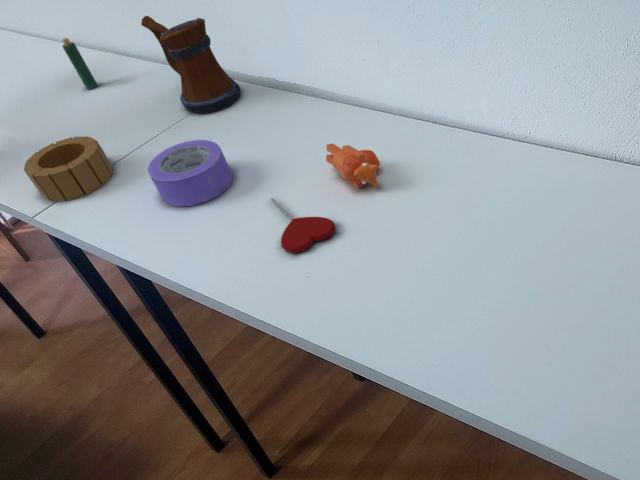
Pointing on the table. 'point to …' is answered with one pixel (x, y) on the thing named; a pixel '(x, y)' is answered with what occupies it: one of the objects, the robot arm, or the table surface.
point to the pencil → (79, 64)
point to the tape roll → (190, 173)
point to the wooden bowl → (69, 168)
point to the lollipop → (305, 231)
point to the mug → (195, 65)
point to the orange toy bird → (354, 164)
